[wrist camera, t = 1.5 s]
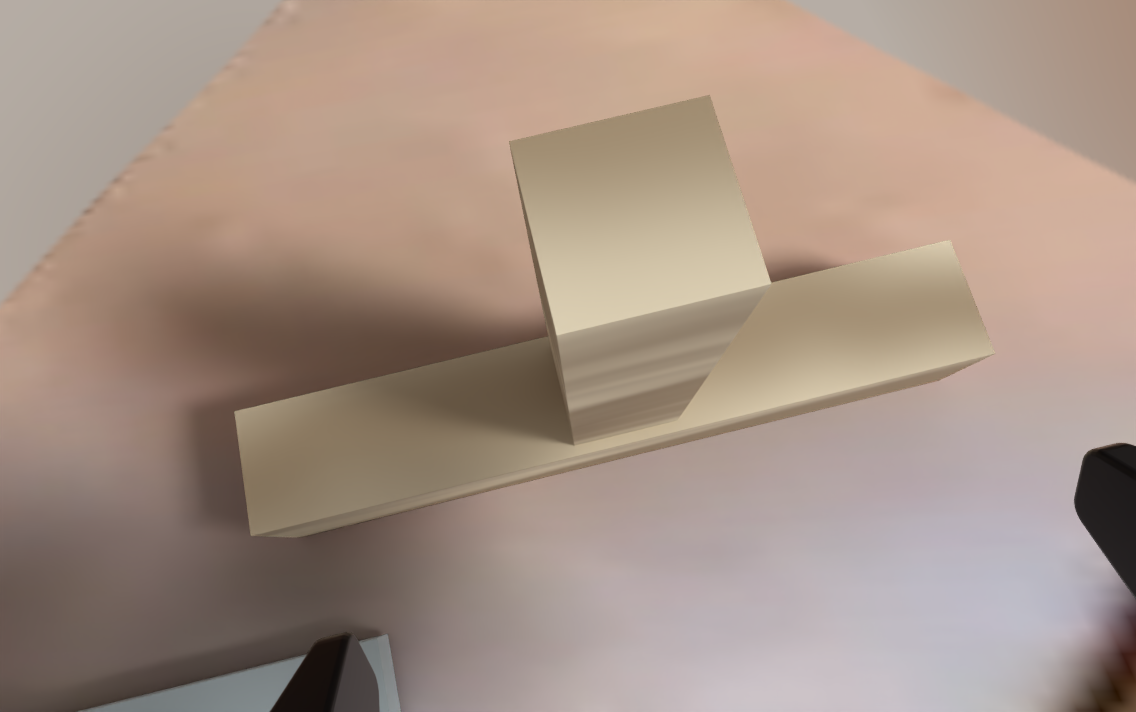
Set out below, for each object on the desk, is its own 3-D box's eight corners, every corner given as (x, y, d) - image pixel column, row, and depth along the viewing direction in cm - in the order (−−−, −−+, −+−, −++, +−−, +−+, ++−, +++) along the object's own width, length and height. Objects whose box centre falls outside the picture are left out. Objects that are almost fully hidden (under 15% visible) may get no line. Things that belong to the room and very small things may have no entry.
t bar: (938, 380, 21) (1425, 148, 9) (299, 537, 20) (-134, 524, 8) (901, 280, 22) (1301, -61, 9) (283, 430, 21) (-135, 271, 9)
